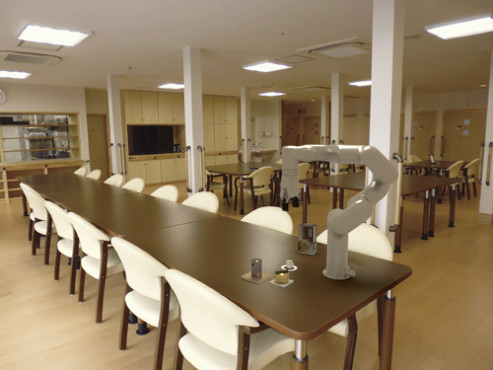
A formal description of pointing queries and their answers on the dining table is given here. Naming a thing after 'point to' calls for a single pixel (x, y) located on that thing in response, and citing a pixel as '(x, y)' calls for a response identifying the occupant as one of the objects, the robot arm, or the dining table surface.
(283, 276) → the cap
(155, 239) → the dining table surface
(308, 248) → the coffee box
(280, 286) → the mat
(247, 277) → the post
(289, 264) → the teacup and saucer
